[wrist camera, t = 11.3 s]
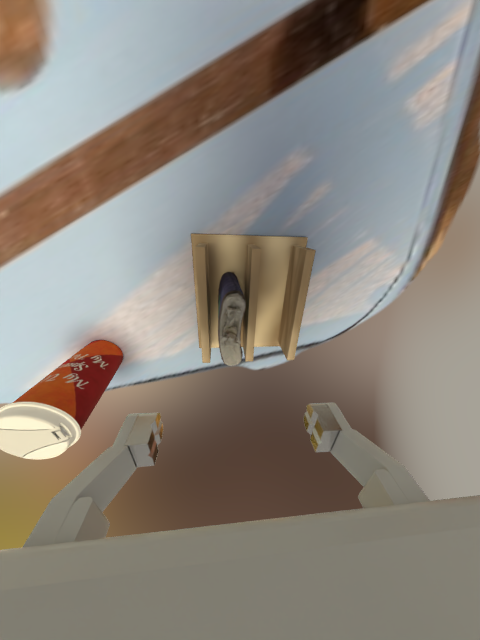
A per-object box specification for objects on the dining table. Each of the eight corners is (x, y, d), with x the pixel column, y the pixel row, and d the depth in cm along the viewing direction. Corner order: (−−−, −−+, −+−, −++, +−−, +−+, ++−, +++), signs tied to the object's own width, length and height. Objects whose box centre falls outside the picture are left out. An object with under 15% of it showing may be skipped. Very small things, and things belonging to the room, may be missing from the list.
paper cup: (119, 330, 30) (46, 408, 17) (136, 368, 33) (86, 456, 21) (68, 337, 29) (-45, 421, 17) (91, 375, 33) (11, 467, 20)
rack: (200, 344, 32) (195, 368, 27) (192, 233, 24) (183, 236, 19) (286, 342, 33) (299, 365, 28) (304, 237, 26) (326, 240, 21)
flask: (236, 329, 30) (243, 378, 21) (218, 329, 30) (216, 379, 20) (239, 271, 26) (249, 297, 17) (217, 270, 26) (215, 297, 16)
